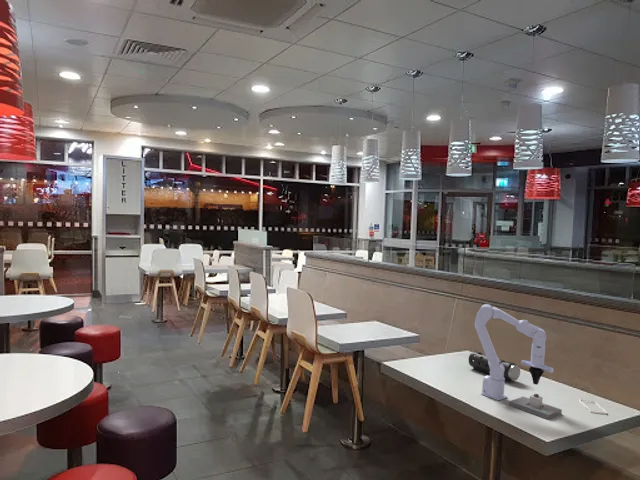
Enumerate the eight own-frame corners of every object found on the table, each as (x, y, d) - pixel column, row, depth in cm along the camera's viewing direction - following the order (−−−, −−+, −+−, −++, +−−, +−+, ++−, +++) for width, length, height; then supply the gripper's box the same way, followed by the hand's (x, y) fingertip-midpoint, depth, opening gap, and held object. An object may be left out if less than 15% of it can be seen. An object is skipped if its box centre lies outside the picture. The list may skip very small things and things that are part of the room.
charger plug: (528, 409, 215) (529, 394, 215) (532, 407, 218) (533, 392, 217) (537, 412, 212) (538, 396, 212) (541, 410, 215) (542, 394, 215)
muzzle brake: (478, 367, 278) (480, 349, 278) (520, 382, 254) (522, 363, 254) (467, 369, 273) (468, 351, 273) (508, 384, 249) (510, 365, 249)
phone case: (607, 415, 214) (594, 403, 229) (608, 412, 214) (595, 401, 229) (590, 413, 215) (578, 401, 230) (590, 410, 215) (578, 399, 230)
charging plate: (509, 405, 218) (509, 400, 218) (522, 400, 226) (523, 396, 226) (548, 419, 204) (548, 414, 204) (561, 413, 212) (561, 409, 212)
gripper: (518, 352, 225) (516, 380, 225) (549, 360, 214) (546, 390, 214) (526, 350, 229) (524, 378, 230) (556, 358, 218) (554, 387, 218)
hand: (535, 383), depth 222 cm, fingers closed
